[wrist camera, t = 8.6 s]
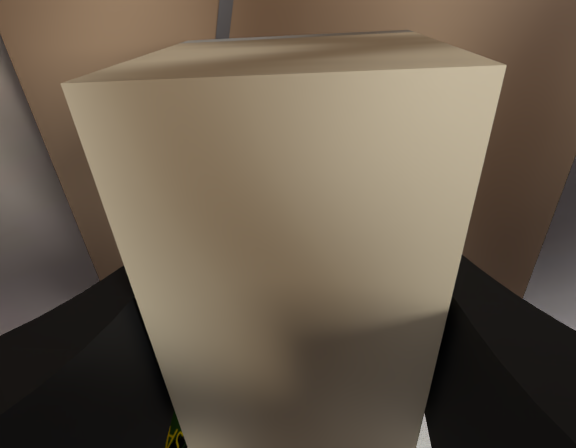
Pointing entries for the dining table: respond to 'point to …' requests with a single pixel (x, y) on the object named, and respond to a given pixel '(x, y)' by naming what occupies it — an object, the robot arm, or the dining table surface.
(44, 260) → the dining table surface
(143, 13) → the board
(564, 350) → the robot arm
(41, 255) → the dining table surface
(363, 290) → the block
